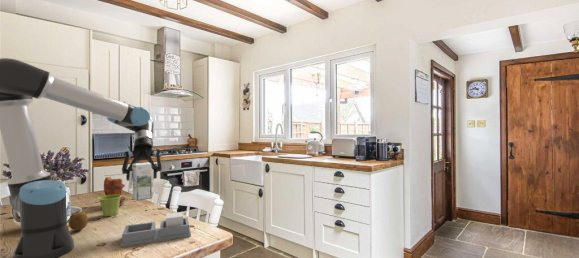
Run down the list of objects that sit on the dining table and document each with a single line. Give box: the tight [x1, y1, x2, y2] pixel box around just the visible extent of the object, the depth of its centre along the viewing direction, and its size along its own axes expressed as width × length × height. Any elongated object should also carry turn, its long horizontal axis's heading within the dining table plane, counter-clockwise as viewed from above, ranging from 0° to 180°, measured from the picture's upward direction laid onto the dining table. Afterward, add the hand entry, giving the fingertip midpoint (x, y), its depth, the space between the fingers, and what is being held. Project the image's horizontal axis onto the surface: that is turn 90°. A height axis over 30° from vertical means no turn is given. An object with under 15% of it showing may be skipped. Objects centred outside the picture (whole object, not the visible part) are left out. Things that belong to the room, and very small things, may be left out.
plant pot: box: [97, 195, 122, 218], centre depth 137 cm, size 9×9×9 cm
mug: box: [103, 176, 126, 207], centre depth 154 cm, size 15×8×15 cm, turn 58°
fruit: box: [68, 210, 89, 232], centre depth 116 cm, size 6×6×8 cm
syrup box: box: [132, 161, 153, 202], centre depth 117 cm, size 6×6×14 cm
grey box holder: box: [119, 211, 192, 248], centre depth 108 cm, size 23×11×7 cm, turn 112°
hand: (141, 185), depth 113 cm, fingers closed on syrup box, 7 cm apart
